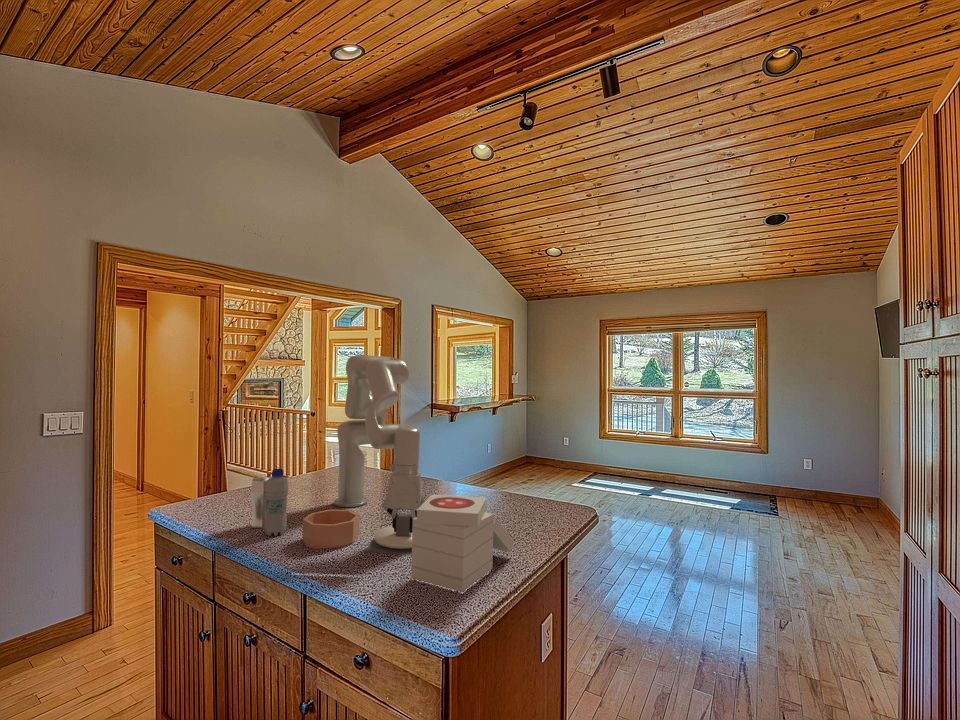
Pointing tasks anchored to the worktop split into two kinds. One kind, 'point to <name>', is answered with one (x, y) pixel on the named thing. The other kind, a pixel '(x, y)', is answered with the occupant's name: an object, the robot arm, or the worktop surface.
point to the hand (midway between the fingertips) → (403, 530)
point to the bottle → (276, 503)
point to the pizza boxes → (455, 541)
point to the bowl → (330, 528)
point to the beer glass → (258, 501)
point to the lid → (396, 534)
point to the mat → (386, 549)
